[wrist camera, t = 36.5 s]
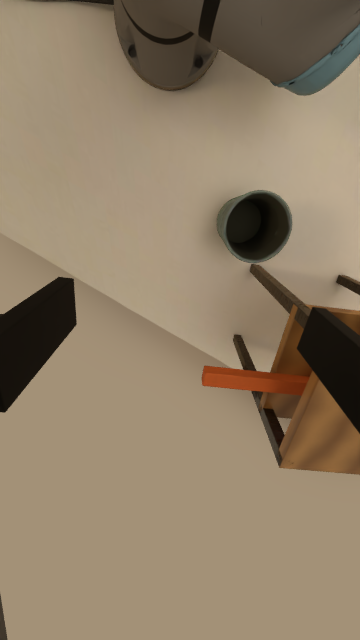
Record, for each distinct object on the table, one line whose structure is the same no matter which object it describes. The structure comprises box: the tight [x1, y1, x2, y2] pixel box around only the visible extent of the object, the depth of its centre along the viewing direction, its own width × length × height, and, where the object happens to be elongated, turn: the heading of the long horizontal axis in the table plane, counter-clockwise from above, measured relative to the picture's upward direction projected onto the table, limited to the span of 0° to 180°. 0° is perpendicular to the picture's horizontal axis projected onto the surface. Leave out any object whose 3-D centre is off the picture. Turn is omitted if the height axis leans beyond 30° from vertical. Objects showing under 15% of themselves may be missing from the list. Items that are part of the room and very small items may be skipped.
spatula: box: [202, 366, 309, 396], centre depth 35 cm, size 27×6×2 cm, turn 83°
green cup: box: [217, 190, 292, 263], centre depth 43 cm, size 10×10×12 cm
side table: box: [233, 264, 360, 475], centre depth 42 cm, size 20×18×31 cm
